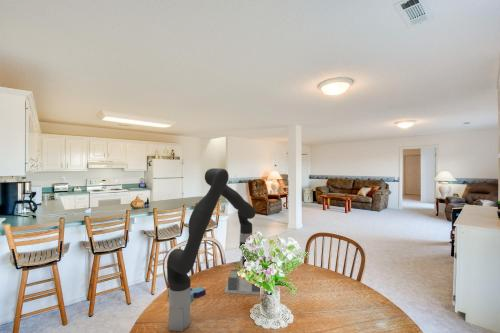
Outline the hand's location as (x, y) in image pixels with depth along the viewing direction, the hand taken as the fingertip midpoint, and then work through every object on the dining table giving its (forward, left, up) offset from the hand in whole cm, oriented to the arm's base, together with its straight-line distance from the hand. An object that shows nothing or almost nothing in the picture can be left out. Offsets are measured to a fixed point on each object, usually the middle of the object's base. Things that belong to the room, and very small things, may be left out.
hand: (245, 269), depth 144 cm
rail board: (0, 0, -11) cm, 11 cm away
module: (0, 0, -1) cm, 1 cm away
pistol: (-11, +31, -11) cm, 35 cm away
